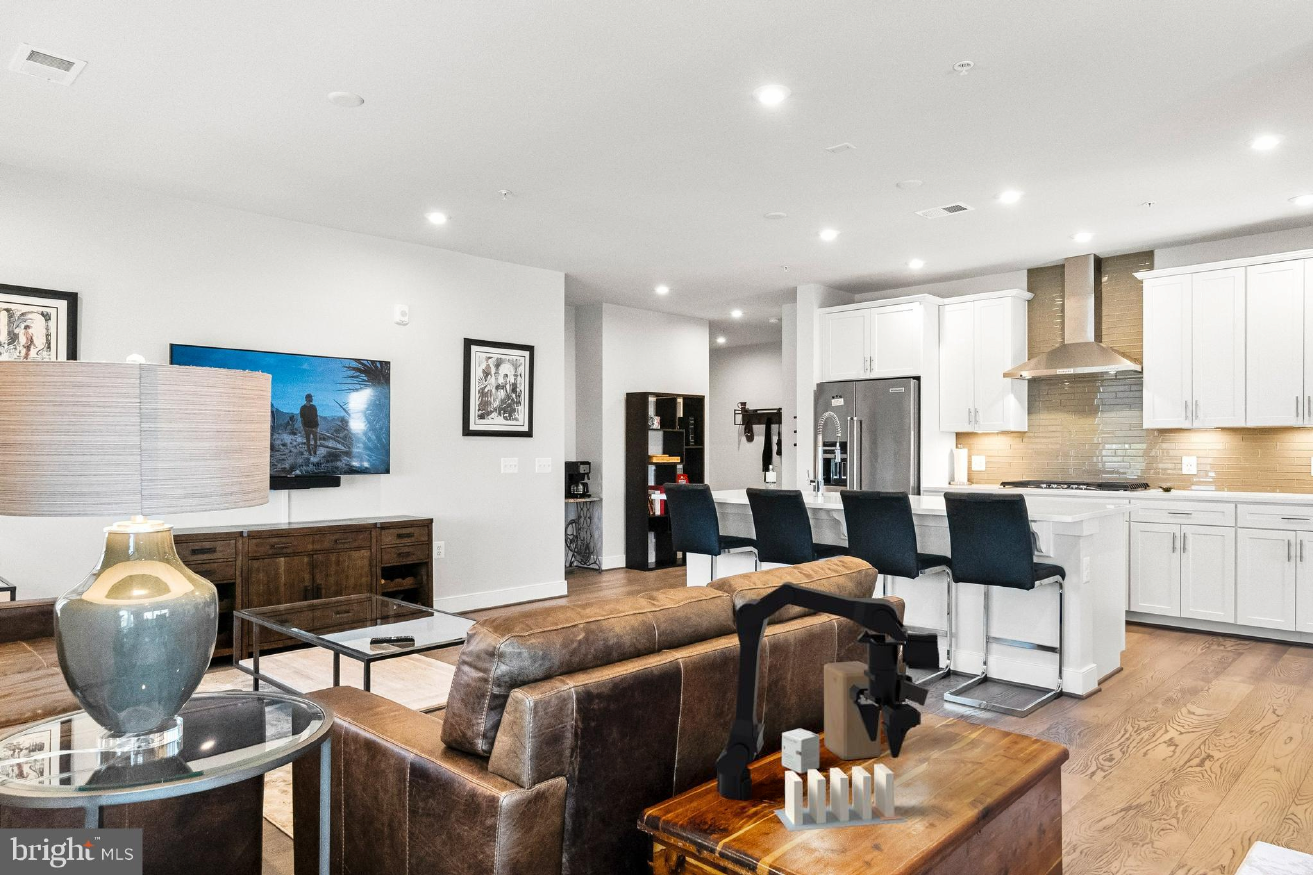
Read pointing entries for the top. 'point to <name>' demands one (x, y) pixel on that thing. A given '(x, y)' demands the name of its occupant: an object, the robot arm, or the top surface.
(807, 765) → the skincare box
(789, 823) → the domino board
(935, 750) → the top surface
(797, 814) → the domino
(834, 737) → the wooden block
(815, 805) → the domino
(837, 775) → the domino
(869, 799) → the domino
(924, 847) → the top surface
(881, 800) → the end domino
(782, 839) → the top surface
